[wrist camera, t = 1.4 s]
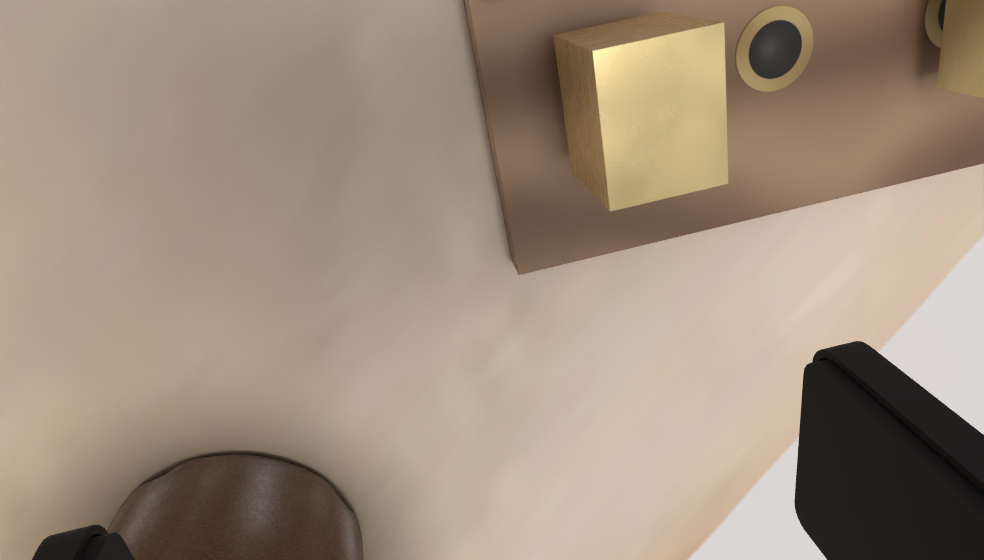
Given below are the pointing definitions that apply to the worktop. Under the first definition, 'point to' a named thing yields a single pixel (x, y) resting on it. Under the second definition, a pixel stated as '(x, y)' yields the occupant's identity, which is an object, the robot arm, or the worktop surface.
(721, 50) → the sliding block
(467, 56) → the worktop surface
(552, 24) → the wooden slider board
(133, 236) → the worktop surface
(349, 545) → the plant pot
